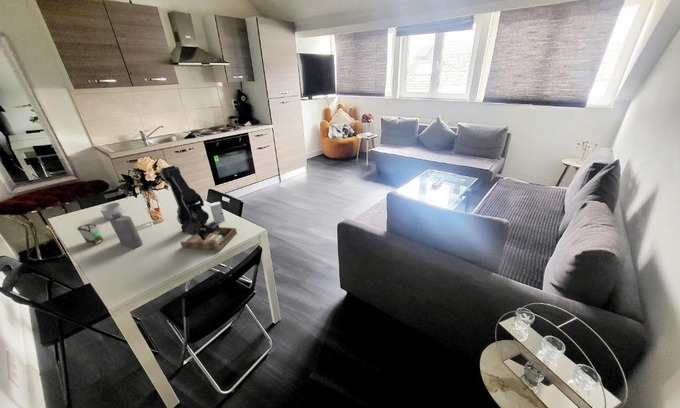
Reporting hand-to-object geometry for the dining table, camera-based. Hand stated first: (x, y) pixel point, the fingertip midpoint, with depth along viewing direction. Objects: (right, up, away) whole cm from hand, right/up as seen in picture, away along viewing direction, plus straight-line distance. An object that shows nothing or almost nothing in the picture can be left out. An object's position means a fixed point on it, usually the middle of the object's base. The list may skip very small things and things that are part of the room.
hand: (204, 239), depth 145 cm
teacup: (-79, +11, +34) cm, 86 cm away
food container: (-66, -2, +8) cm, 66 cm away
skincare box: (-2, +9, +23) cm, 25 cm away
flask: (-43, -3, +4) cm, 43 cm away
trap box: (+1, -1, +4) cm, 4 cm away
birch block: (+7, -1, -1) cm, 7 cm away
